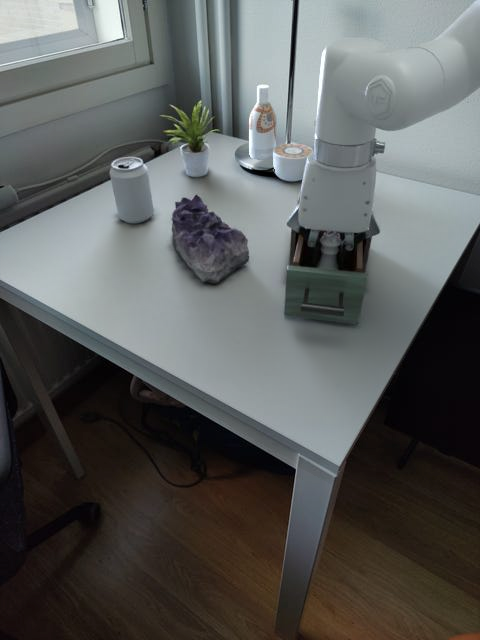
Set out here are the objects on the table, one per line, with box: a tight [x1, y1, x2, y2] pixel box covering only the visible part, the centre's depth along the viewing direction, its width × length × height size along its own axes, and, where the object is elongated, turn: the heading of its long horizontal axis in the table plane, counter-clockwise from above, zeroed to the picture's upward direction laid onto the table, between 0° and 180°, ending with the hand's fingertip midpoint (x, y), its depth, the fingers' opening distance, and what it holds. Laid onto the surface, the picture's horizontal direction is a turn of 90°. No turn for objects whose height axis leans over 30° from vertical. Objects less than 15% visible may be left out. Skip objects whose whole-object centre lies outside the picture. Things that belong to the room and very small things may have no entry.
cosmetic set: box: [248, 84, 316, 182], centre depth 106 cm, size 25×9×19 cm, turn 46°
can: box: [108, 156, 155, 224], centre depth 95 cm, size 8×8×12 cm
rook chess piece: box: [317, 231, 342, 270], centre depth 71 cm, size 4×4×8 cm
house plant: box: [160, 100, 220, 178], centre depth 111 cm, size 14×14×16 cm
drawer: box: [283, 234, 368, 325], centre depth 72 cm, size 18×11×9 cm, turn 168°
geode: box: [171, 194, 250, 285], centre depth 84 cm, size 20×12×10 cm, turn 33°
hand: (327, 265), depth 72 cm, fingers closed on rook chess piece, 3 cm apart
